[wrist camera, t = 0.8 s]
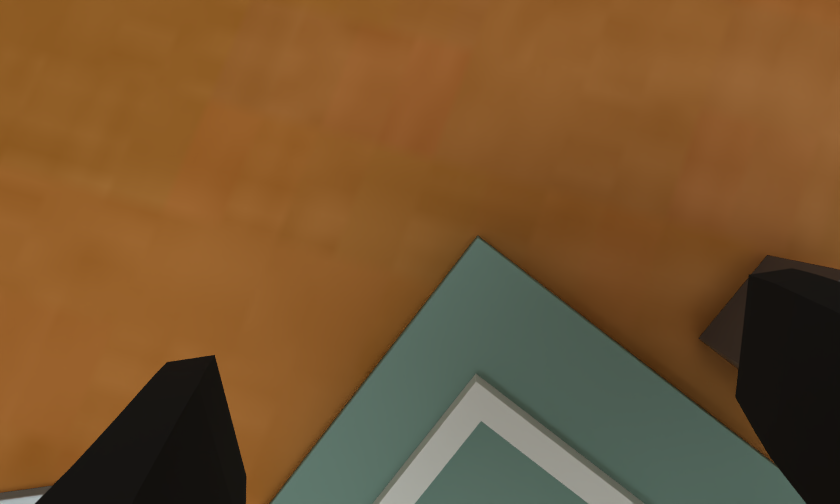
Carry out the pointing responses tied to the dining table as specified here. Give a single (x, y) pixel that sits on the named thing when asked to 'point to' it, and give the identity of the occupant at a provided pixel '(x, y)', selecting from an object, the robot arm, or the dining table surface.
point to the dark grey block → (729, 322)
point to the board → (523, 414)
